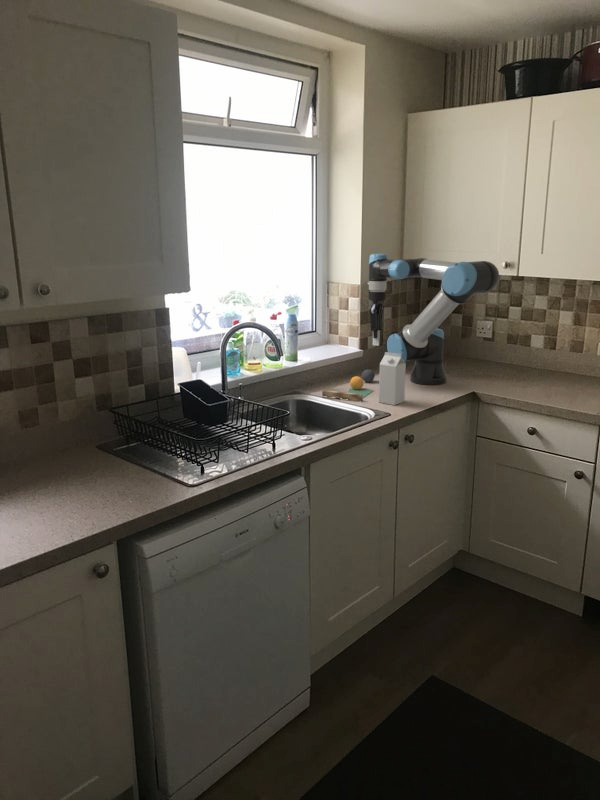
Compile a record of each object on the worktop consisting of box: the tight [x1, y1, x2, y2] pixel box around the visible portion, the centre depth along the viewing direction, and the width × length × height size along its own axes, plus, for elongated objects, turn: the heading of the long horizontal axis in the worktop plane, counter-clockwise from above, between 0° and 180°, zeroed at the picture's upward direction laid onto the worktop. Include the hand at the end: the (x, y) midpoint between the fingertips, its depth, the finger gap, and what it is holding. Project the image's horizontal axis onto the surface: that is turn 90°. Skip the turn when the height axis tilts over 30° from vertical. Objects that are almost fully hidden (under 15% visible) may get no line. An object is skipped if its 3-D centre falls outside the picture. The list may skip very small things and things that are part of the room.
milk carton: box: [378, 351, 407, 406], centre depth 247 cm, size 7×7×19 cm
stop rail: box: [321, 389, 364, 402], centre depth 255 cm, size 16×2×2 cm, turn 65°
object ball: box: [349, 375, 364, 390], centre depth 268 cm, size 6×6×6 cm
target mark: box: [348, 387, 374, 399], centre depth 263 cm, size 14×14×1 cm
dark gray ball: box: [361, 369, 376, 383], centre depth 280 cm, size 6×6×6 cm
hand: (376, 345), depth 286 cm, fingers closed
